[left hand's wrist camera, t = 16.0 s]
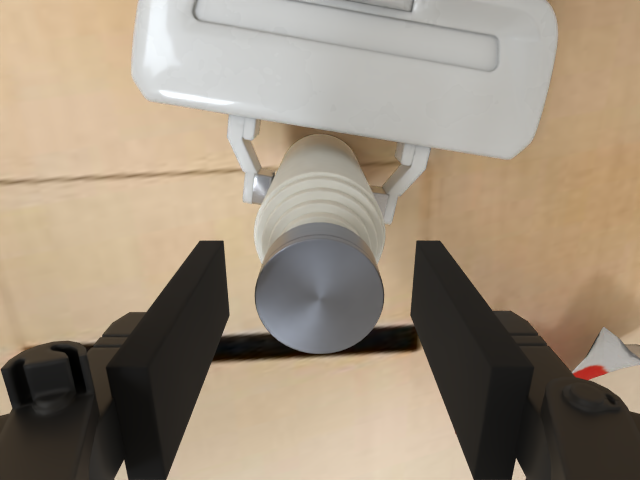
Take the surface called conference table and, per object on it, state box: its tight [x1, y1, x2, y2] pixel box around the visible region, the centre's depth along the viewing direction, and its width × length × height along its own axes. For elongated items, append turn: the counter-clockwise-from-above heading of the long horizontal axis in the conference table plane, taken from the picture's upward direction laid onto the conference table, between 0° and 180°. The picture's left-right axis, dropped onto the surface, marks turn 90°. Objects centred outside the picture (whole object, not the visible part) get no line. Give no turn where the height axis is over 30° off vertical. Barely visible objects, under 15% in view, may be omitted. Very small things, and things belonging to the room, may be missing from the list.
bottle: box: [254, 134, 385, 264], centre depth 22 cm, size 6×6×18 cm
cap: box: [255, 222, 384, 354], centre depth 14 cm, size 4×4×2 cm
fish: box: [455, 327, 640, 434], centre depth 31 cm, size 11×16×10 cm
